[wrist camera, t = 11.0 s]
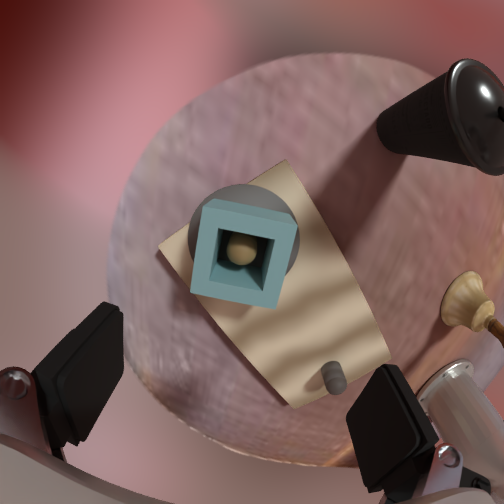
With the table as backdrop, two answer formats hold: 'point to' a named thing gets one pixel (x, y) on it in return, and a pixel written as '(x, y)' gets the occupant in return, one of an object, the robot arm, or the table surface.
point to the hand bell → (470, 306)
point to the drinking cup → (451, 119)
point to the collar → (242, 276)
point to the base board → (290, 296)
